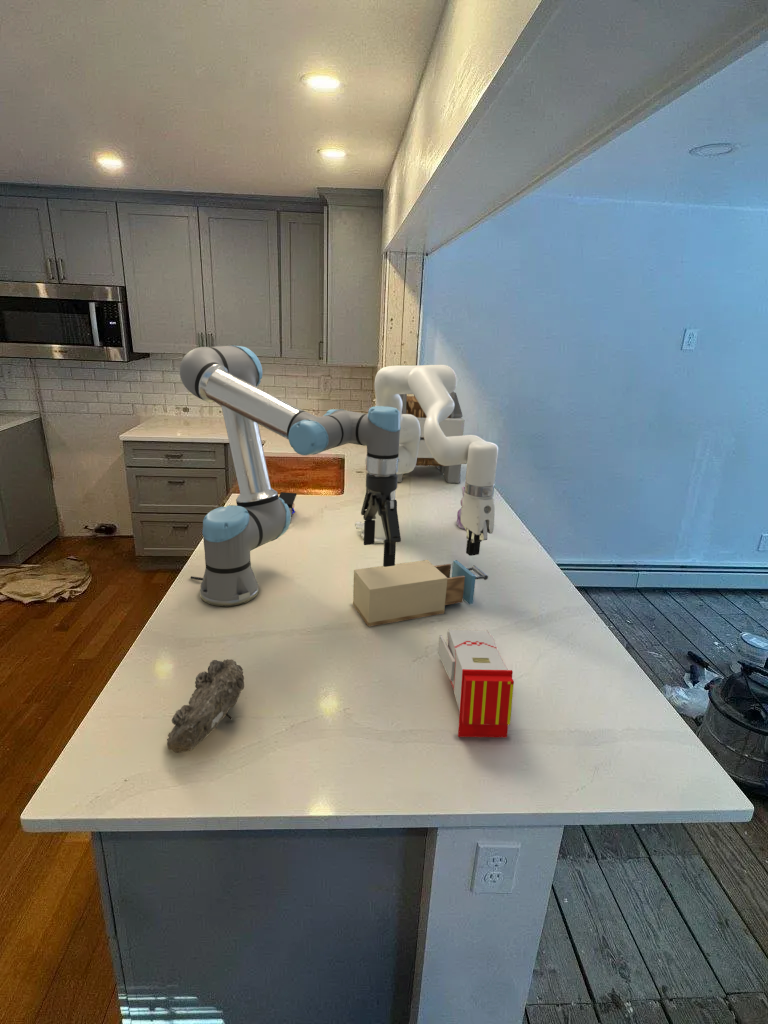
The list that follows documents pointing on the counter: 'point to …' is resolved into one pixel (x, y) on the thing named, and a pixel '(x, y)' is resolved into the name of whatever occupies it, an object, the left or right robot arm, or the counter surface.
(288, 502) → the figurine character
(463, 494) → the figurine
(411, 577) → the tan storage bin
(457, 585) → the drawer
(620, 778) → the counter surface
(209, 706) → the fossil
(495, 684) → the toy
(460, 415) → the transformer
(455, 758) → the counter surface
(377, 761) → the counter surface
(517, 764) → the counter surface
